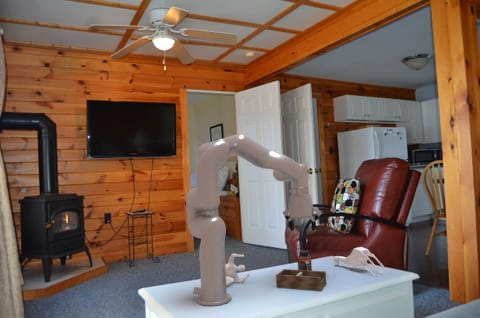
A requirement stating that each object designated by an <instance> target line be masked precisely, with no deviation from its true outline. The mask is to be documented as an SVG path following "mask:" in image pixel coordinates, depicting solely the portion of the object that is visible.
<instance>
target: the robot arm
mask: <svg viewBox="0 0 480 318" xmlns="http://www.w3.org/2000/svg"><path fill="white" fill-rule="evenodd" d="M196 153H197V155H196V156H197V159H198V161H197V163H196V166H195V187H193V188H191V189H190V190H189V191H188V193H187V194H186V195H187V196H186V199H185V202H186V203H185V204H186V207H185V208H186V216H187V218H186V219H187V226H188V231H189V233H190V234H191V236H193V237H195V238H197V239H200V244H199V252H198V253H199V255H198V257H199V273H200V287H199V286H194V287H193V291H192V294H193V295H198V297H197V299H196V300H197V303H198V304H199V305H201V306H210V307H212V306H214V307H215V306H221V305H224V304H227V303H229V302H230V301H232V295H231V294H230V293H228V289H227V287H228V286H226V266H225V265H226V253H225V251H226V250H225V249H226V248H225V246H226V245H225V242H226V233H227V232H226V231H227V227H226V222H225V221H224V219H222V218H221V216H218V215H216V214H215V215H214V214H210V212H214V211H215V210H217V209H218V208H219V207H220V204H221V198H220V197H221V196H220V188H219V187H220V186H219V170H220V167H221V165H222V164H223V162H225V161H226V160H227V159H228V158H230V157H235V156H238V157H240V158H241V159H244V160H245V161H246V162H248V163H250V164H252V165H253V166H255V167H257V168H260V169H265V170H266V169H267V170H272V175H273V178H274V179H275V180H276V181H278V182H290V184H291V189H288V193H290V194H291V195H289V206H288V208H287V209H286V210H283V211H282V214H283V217H284V218H285V219H286V220H287V222H288V225H289V229H290V231H291V232H292V231H294V230H295V222H294V221H295V220H294V219H296V218H297V219H299V218H301V219H306V218H307V219H308V218H309V219H310V220H311V223H310V224H311V231H312V232H315V231H316V230H317V222H316V221H317V220H319V218H320V216H321V214H322V210H320V209H318V208H316V207H314V205H313V204H314V203H313V200H312V194H310V189H309V176H308V166H307V164H305V163H299V162H297V161H296V160H294V159H293V158H291V157H289V156H288V155H284V154H282V153H280V152H277V151H273V150H270V149H268V148H266V147H265V146H262V145H261V144H259V142H256V141H255V140H253V139H252V138H250V137H248V136H247V135H245V134H243V133H237V134H234V135H229V136H226V137H223V138H220V139H217V140H214V141H210V142H205V143H202V144H201V145H200V146H199V147H198V149H197V152H196ZM314 212H315V213H316V215H314ZM288 213H289V215H288Z"/></svg>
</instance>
